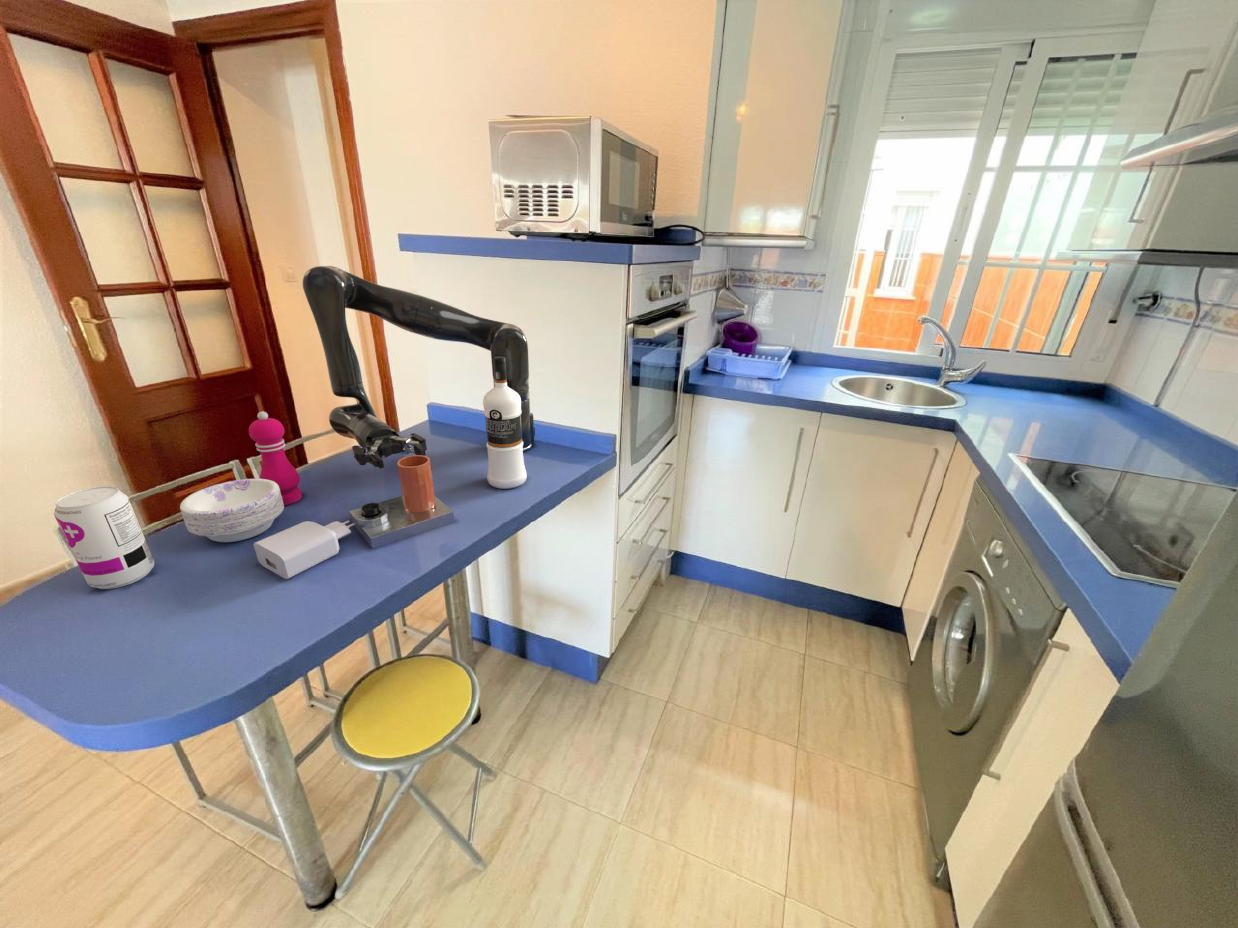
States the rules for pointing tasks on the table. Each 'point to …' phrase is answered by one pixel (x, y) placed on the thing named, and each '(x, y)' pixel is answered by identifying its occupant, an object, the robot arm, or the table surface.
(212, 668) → the table surface
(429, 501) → the cup
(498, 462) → the vodka
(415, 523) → the scale
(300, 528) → the charger
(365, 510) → the button
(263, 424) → the pepper mill
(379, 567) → the table surface
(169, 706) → the table surface
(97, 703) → the table surface
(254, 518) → the paper bowls
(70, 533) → the supplement can
